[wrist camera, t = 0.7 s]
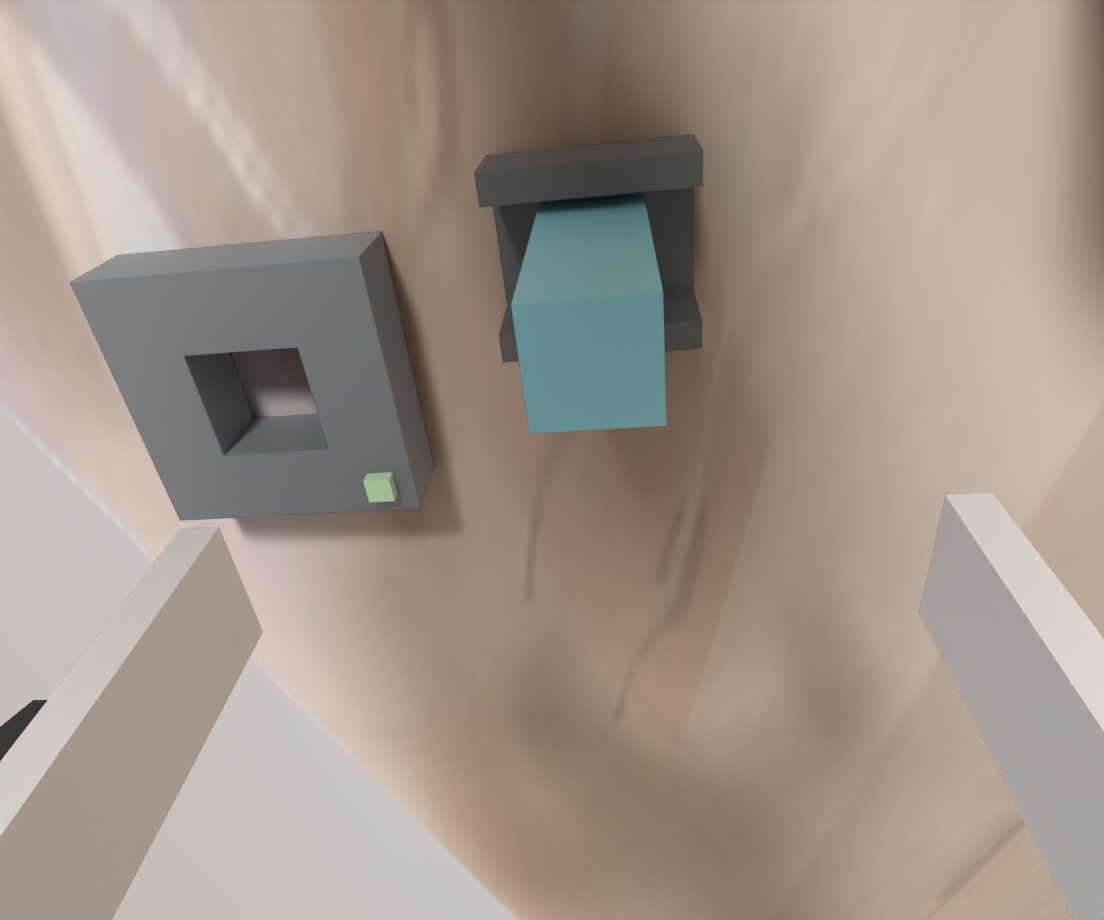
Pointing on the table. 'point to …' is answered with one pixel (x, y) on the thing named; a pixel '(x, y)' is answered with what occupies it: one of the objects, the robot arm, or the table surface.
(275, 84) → the table surface
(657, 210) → the holster
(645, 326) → the plug
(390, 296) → the port
